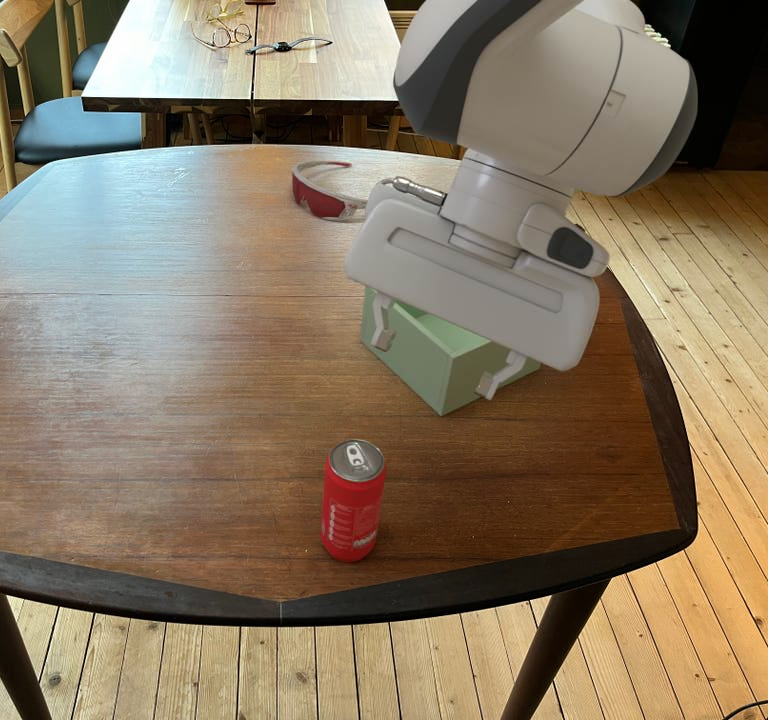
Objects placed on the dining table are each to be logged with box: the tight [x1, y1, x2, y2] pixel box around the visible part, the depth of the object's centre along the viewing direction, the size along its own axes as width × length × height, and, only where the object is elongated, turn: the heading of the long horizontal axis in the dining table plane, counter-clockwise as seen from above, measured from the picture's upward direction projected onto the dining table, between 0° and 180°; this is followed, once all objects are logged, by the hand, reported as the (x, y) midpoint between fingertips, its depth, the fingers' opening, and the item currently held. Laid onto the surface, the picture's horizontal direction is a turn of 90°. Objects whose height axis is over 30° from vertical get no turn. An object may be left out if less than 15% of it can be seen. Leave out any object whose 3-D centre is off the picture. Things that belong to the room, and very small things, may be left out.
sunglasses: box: [291, 160, 368, 221], centre depth 119 cm, size 17×17×5 cm
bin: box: [359, 286, 542, 417], centre depth 88 cm, size 16×16×9 cm
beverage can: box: [320, 438, 387, 563], centre depth 66 cm, size 5×5×12 cm
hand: (430, 371), depth 61 cm, fingers open, 8 cm apart
